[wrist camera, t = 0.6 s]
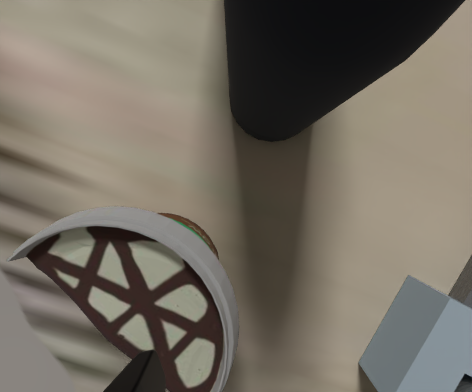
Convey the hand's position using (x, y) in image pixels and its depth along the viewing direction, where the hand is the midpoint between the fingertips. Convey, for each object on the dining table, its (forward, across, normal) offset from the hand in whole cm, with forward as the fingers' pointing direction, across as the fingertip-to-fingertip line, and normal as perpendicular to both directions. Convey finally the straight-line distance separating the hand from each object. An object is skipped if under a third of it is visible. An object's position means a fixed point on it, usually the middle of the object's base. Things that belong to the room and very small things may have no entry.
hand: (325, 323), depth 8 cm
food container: (+15, +6, +3) cm, 17 cm away
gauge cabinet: (+13, -11, +15) cm, 23 cm away
